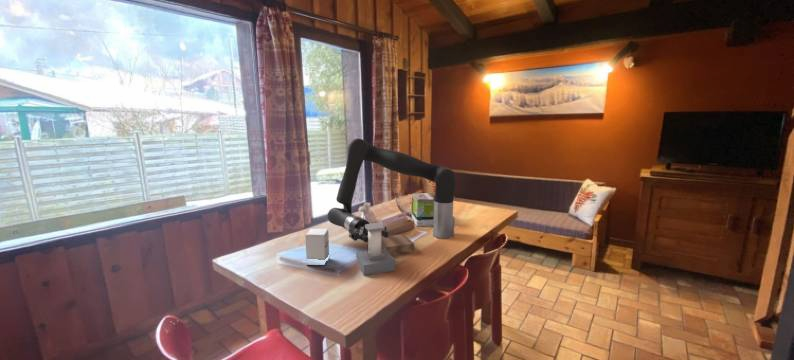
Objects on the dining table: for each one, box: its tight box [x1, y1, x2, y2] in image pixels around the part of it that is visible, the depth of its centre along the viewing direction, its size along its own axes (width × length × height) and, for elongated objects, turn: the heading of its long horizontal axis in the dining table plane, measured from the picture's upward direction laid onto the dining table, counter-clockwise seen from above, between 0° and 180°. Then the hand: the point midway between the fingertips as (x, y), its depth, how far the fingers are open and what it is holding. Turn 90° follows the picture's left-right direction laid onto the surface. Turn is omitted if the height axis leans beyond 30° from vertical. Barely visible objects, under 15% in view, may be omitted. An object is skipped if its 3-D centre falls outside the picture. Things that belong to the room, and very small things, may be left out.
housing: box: [365, 222, 386, 261], centre depth 122 cm, size 6×6×12 cm
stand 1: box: [355, 249, 396, 277], centre depth 123 cm, size 12×12×4 cm
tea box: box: [411, 192, 434, 227], centre depth 176 cm, size 15×10×15 cm
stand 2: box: [381, 233, 415, 257], centre depth 140 cm, size 12×12×4 cm
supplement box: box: [305, 228, 330, 260], centre depth 126 cm, size 7×7×13 cm
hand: (377, 237), depth 120 cm, fingers open, 8 cm apart
